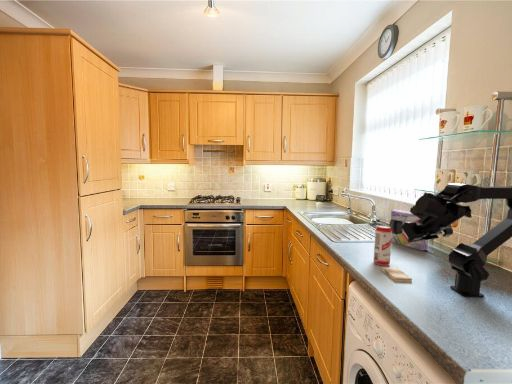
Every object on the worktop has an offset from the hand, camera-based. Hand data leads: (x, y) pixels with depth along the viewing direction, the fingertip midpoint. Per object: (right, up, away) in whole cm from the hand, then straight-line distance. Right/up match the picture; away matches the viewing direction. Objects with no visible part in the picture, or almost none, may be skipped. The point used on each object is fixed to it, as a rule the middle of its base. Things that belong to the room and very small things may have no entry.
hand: (411, 241), depth 97 cm
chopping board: (-5, -13, +2) cm, 14 cm away
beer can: (-4, -12, +14) cm, 19 cm away
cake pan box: (+21, -10, +39) cm, 45 cm away
